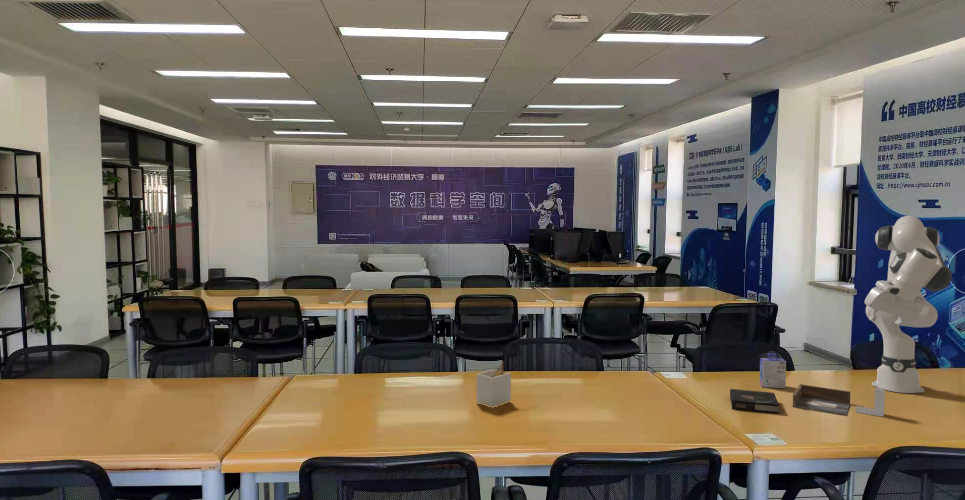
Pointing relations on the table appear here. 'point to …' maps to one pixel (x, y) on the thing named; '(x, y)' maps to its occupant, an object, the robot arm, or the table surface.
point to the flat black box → (754, 401)
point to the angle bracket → (875, 404)
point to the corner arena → (822, 399)
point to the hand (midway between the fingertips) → (882, 323)
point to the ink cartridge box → (772, 372)
